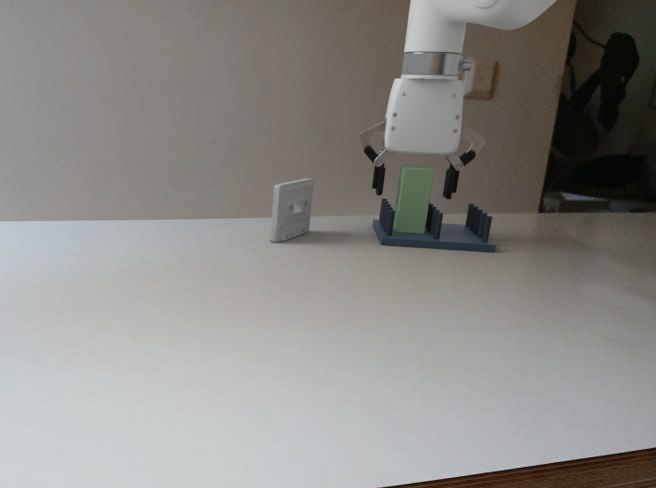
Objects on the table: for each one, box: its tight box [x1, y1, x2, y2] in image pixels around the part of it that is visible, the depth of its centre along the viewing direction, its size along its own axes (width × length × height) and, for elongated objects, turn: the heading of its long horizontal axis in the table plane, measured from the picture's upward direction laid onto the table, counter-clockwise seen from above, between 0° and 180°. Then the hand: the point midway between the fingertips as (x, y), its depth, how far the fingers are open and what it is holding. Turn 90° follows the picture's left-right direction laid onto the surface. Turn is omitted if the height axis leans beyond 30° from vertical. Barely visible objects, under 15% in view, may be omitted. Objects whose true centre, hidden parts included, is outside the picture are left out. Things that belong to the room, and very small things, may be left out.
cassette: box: [269, 177, 315, 243], centre depth 104 cm, size 12×2×8 cm, turn 148°
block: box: [393, 163, 435, 234], centre depth 107 cm, size 4×6×9 cm, turn 170°
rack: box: [372, 198, 497, 253], centre depth 107 cm, size 15×16×4 cm
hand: (412, 196), depth 107 cm, fingers open, 9 cm apart
